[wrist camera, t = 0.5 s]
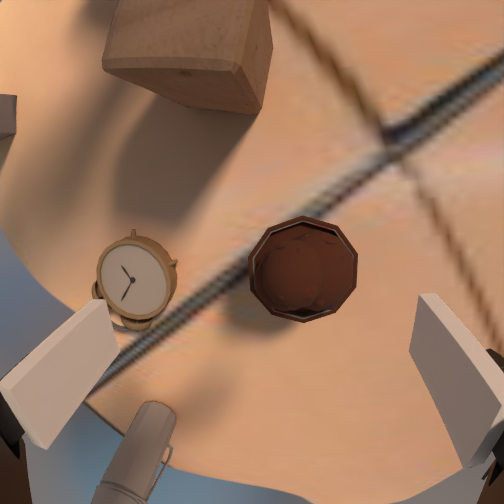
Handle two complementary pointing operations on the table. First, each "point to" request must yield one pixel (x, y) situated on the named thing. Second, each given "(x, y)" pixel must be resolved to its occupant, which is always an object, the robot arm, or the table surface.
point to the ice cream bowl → (303, 269)
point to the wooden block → (194, 51)
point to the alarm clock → (135, 280)
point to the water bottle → (138, 457)
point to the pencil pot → (7, 115)
